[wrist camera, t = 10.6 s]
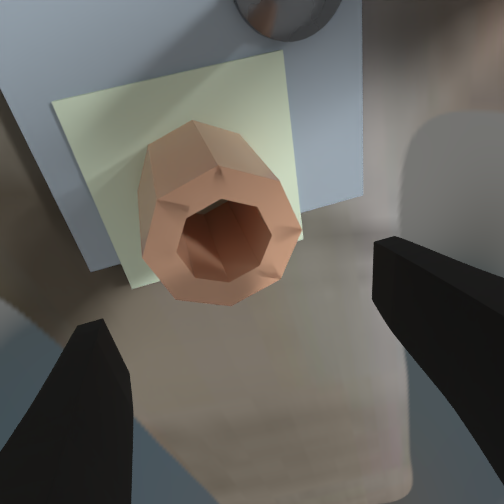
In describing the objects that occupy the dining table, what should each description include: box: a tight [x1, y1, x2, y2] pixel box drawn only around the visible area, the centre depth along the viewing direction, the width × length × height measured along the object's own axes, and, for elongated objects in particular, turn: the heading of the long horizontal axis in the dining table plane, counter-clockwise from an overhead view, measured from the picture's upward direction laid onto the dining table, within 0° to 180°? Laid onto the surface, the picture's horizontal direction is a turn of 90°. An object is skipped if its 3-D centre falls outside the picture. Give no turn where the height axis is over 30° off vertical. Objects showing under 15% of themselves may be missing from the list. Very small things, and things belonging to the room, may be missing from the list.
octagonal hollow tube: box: [137, 120, 302, 306], centre depth 16 cm, size 5×5×6 cm
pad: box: [52, 49, 303, 289], centre depth 18 cm, size 9×9×1 cm
